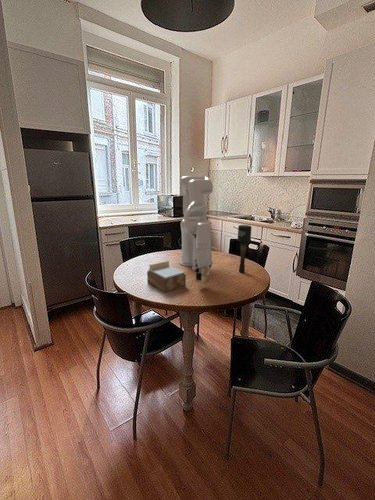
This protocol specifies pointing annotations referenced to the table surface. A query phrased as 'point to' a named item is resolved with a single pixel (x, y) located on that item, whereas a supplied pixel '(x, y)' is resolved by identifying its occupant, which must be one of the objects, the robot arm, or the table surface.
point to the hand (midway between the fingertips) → (202, 278)
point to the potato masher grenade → (243, 243)
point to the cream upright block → (204, 275)
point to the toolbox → (166, 282)
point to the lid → (164, 270)
